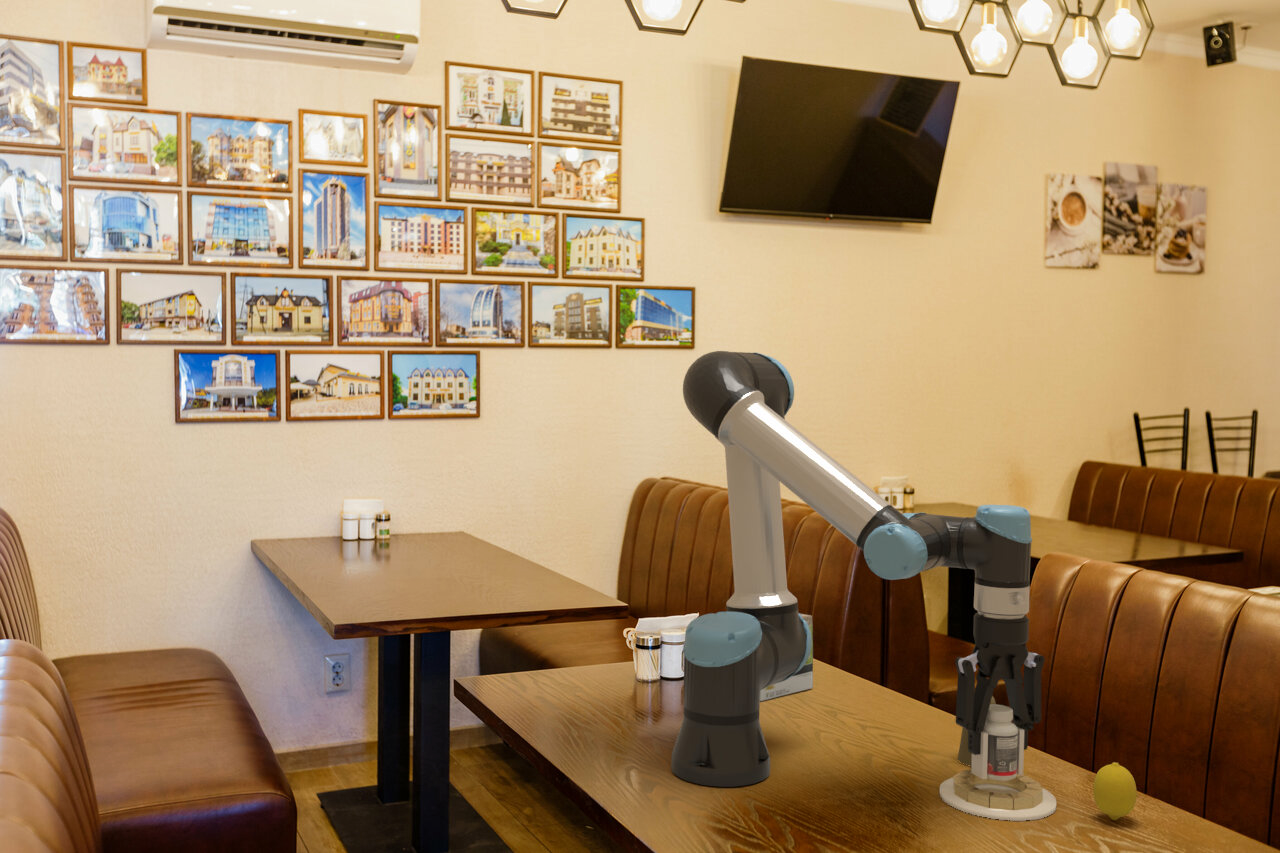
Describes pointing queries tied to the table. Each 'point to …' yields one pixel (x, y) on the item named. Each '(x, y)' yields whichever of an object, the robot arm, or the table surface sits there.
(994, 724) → the pill bottle
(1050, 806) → the coaster
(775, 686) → the tea box
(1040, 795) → the collar
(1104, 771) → the lemon
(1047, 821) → the table surface
